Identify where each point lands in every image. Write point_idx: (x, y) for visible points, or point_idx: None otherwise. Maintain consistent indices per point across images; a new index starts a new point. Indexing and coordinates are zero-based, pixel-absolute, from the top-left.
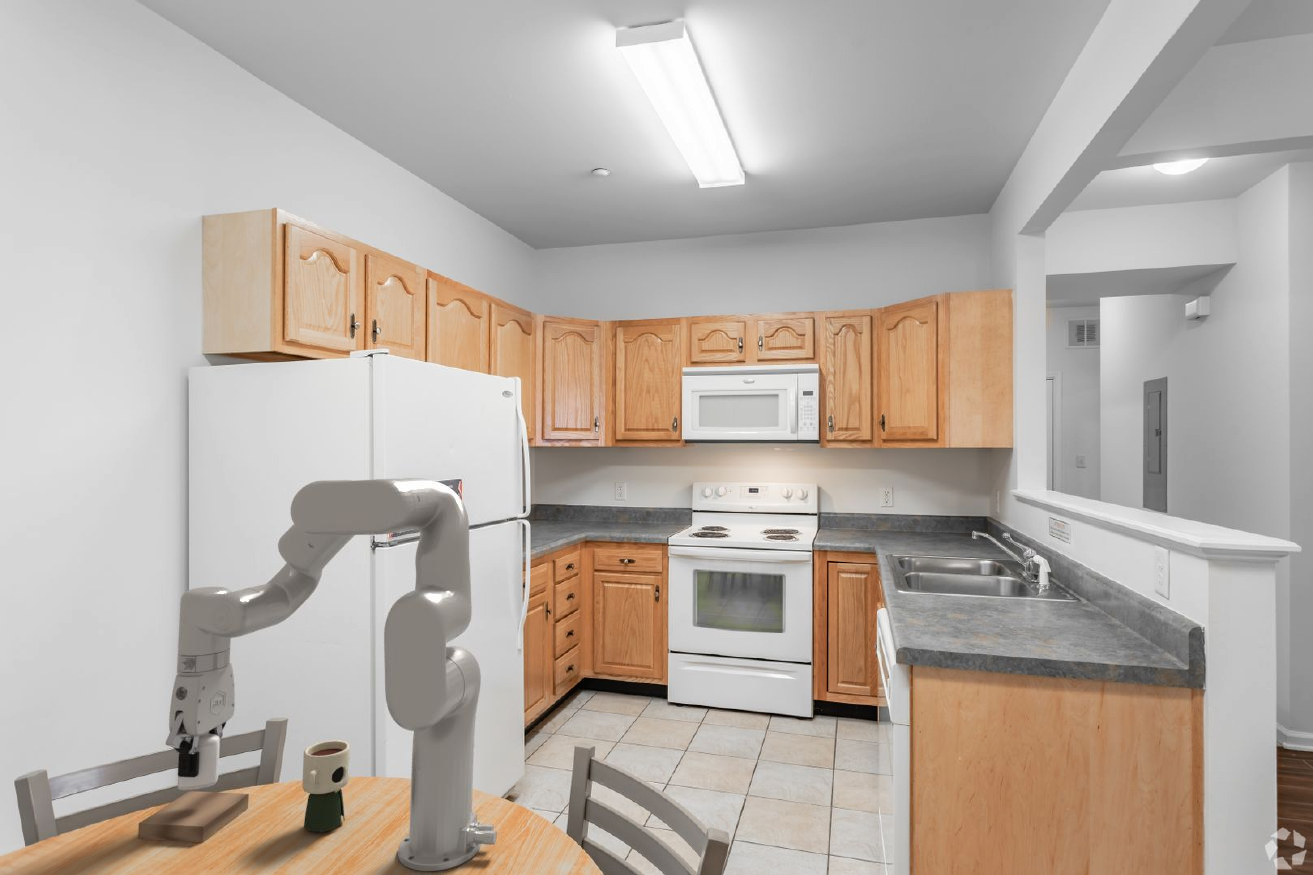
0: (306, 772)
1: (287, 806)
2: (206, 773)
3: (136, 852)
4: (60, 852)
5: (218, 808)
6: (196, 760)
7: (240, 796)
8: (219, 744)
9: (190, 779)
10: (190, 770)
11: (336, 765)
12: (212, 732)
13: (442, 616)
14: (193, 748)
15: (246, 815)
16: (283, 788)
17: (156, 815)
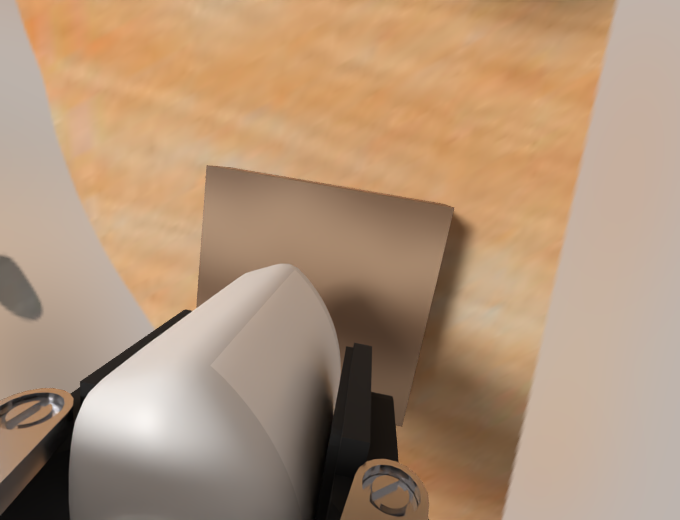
0: None
1: (214, 24)
2: (306, 314)
3: (474, 364)
4: None
5: (318, 223)
6: (368, 402)
7: (227, 187)
8: (142, 351)
9: (334, 370)
10: (375, 393)
11: None
12: (13, 502)
13: None
14: (389, 510)
15: (276, 148)
16: (88, 109)
17: None
